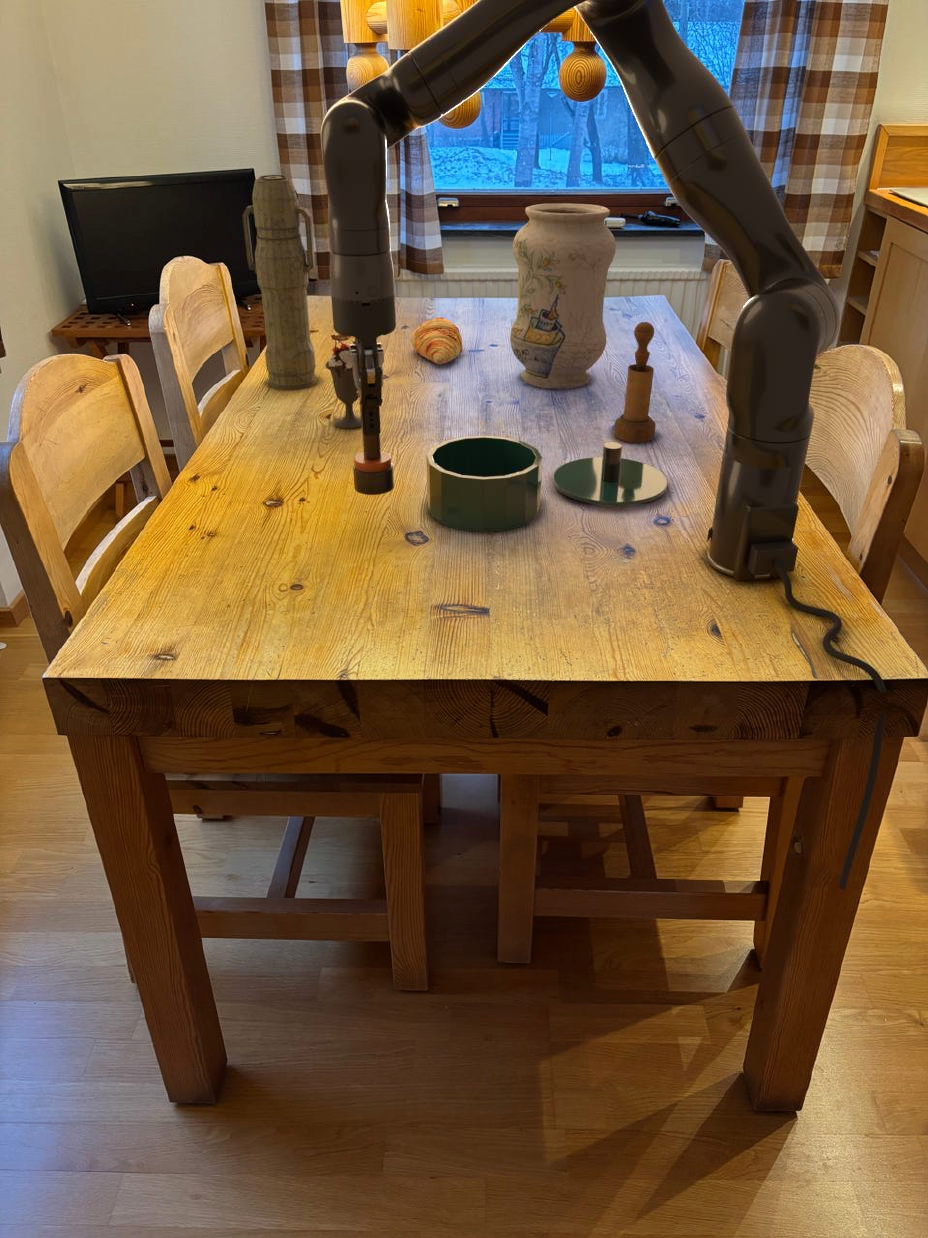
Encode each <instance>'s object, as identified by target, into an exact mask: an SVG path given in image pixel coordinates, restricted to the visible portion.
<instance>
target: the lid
mask: <svg viewBox="0 0 928 1238" xmlns="http://www.w3.org/2000/svg"><path fill="white" fill-rule="evenodd" d="M602 446H603V447H602V456H597V457H595V456H594V457H586V458H580V459H579V458H578V459H575V460H572V461H568V462H566V463H564V464H562V465H560V466H559V467H558V468H557V469H556V470H555V471H554V472H553V477H552V481H553V485H554V487H555V488H556V489H557V490H558V491H559V492H560V493H561V494H563V495H565V496H566V497H569V498H571V499H573V500H576V501H579V502H583V503H586V504H591V505H598V506H607V507H608V506H609V507H628V506H629V507H630V506H637V505H641V504H642V505H643V504H647V503H650V502H652V501H654V500H657V499H659V498H660V497H662V496H663V495H664V494H665V492H666V491H667V488H668V479H667V477H666V476H665V474H664V473H663V472H662V471H660V470H659V469H657V468H655V467H654V466H652V465H650V464H647V463H644V462H641V461H637V460H633V459H627V458H623V457H622V452H623V444H621V443H619V442H614V441H610V442H606V443H604V444H603V445H602Z"/></svg>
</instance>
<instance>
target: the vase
mask: <svg viewBox="0 0 928 1238" xmlns="http://www.w3.org/2000/svg"><path fill="white" fill-rule="evenodd" d="M610 212H611V210H610V209H608V208H607V207H605V206H602V205H598V204H589V203H588V204H586V203H540V204H539V203H538V204H533V205H530V206H526V207H525V215H526V216H527V217H528V222H527V223H526V224H524V225H523V226H522V227H521V228H520V229H519V230H518V231H517V232H516V234H515V236H514V238H513V243H512V252H513V253H512V254H513V256H514V258H515V261H516V263H517V269H518V271H517V273H518V274H517V292H518V293H517V311H516V318H515V320H514V321H513V323H512V326H511V330H510V337H509V342H510V347H511V350H512V353H513V355H514V356H515V358H516V359H517V361H518V362H520V364H522V366H523V367H524V368H525V369H524V371H523V372H521V379H522V380H523V381H524V383H526V384H529V385H531V386H534V387H538V388H539V387H540V388H544V389H551V390H552V389H553V390H559V389H560V390H564V389H565V390H566V389H573V388H578V387H583V386H585V385H587V384H588V383H589V382H590V380H591V375H590V374H589V373H588V372H587V371H588V370H589V369H591V368H592V367H593V366H594V365H595V364H596V363H597V362H598V360H600V358H601V357H602V355H603V354H604V351H605V350H606V347H607V332H606V328H605V324H604V302H605V294H606V291H607V290H606V289H607V281H608V275H609V268H610V267H611V265H612V263H613V261H614V258H615V255H616V250H617V249H616V247H617V246H616V239H615V236H614V234H613V233H612V231H611V230H610V229H609V227H607V226H606V224H605V220H606V219H607V218H608V217H609V216H610Z"/></svg>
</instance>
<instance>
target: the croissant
mask: <svg viewBox="0 0 928 1238" xmlns="http://www.w3.org/2000/svg"><path fill="white" fill-rule="evenodd" d="M410 342H411V346H412V347H413V348H414V350H415V351H416V353H418V354H419V355H420V356H422V357H424V358H426V359H427V360H429V361H431V362H433V363H434V364H437V365H444V364H447V363H450V362H451V361H453V360H454V359H456V358H457V357H458V356H459V355H461V354H462V353H463V338H462V335H461V331H460V329H459V327H458V326H457V325H456V324H455V323H454V322H453V321H451V320H448V319H446V318H444V317H435V318H431V319H428V320H425V321H424V322H422V323H421V324H420V325H419V326H418V327H416V328H415V330H414V331H413V333H412V334H411V337H410Z"/></svg>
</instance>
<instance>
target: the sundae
mask: <svg viewBox="0 0 928 1238" xmlns="http://www.w3.org/2000/svg"><path fill="white" fill-rule="evenodd" d="M330 337H331V338H332V339H334V342H335V344H334V347H333V348H332V354H331V355H330V357H329V359H328V360H327V362H325V369H328V370H329V371H330V374H331V378H332V383H333V389H334V393H335V396H336V398H337V399H338V400H339V402H341V403H343V404H344V406H345V414H344V417H343V418H339V419H337V420H336V421H335V424H334V425H335V426H336V427H338V428H340V429H346V430H353V429H358V428H362V425H361V417H360V418H359V417H356V416H355V414H354V408H353V407H354V406H353V405H354V403H355V402H356V401H358V400H359V397H358V395H357V391H358V389H357V388H356V386H355V380H354V377H353V367H352V362H351V358H350V351H349V345H348V344H346V343H343V342H342V341H341V340H340V339H339V338H338V337H337V336H336V334H331V335H330ZM337 340H338V341H337ZM337 342H339V343H340V345H339V346H340V347H339V346H337Z"/></svg>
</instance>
